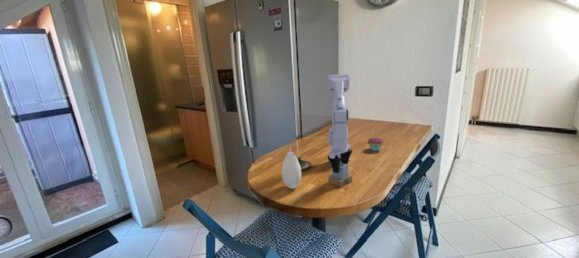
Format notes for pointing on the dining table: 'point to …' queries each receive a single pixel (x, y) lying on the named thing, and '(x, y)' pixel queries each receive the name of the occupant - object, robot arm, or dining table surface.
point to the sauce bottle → (291, 171)
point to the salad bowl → (302, 162)
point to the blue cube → (341, 171)
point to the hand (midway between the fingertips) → (340, 169)
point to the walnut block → (340, 180)
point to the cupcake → (375, 143)
